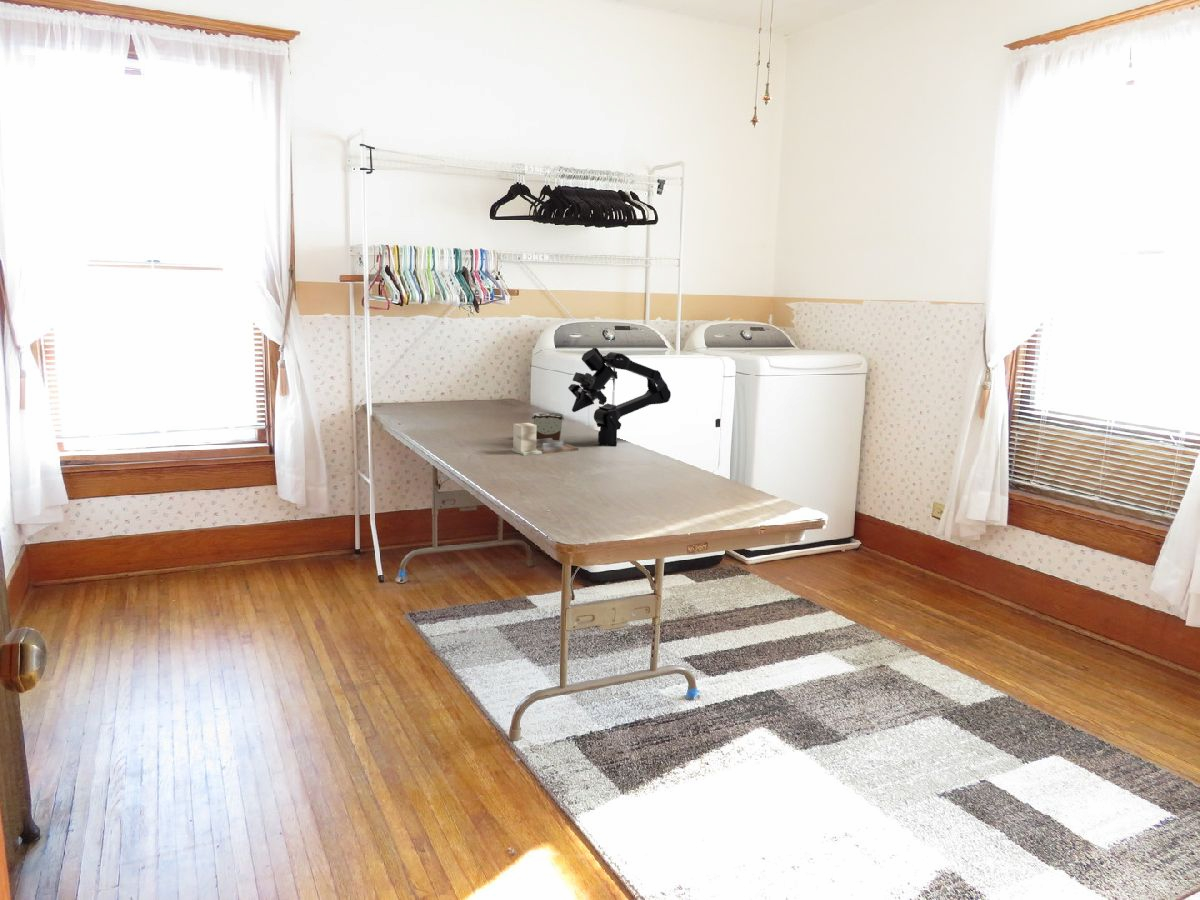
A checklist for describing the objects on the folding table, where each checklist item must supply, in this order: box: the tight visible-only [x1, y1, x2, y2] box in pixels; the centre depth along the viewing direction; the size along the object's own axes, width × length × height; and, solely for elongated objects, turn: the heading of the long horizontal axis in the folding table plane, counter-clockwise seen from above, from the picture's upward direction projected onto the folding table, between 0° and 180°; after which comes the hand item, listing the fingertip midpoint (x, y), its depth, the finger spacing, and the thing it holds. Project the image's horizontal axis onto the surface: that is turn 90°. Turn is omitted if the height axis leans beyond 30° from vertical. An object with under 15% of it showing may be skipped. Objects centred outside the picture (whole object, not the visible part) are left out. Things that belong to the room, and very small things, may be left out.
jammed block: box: [512, 422, 537, 452], centre depth 305 cm, size 6×6×9 cm
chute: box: [510, 438, 579, 456], centre depth 310 cm, size 22×10×3 cm, turn 123°
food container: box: [531, 411, 565, 442], centre depth 331 cm, size 12×6×10 cm, turn 84°
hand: (572, 411), depth 314 cm, fingers closed
